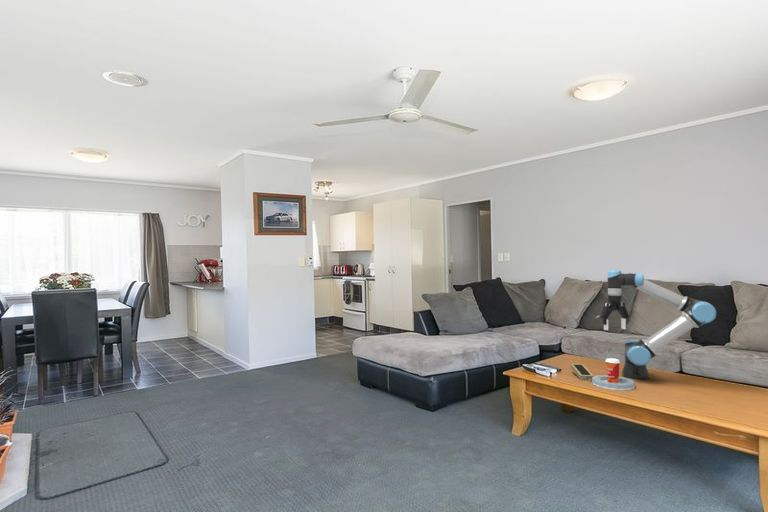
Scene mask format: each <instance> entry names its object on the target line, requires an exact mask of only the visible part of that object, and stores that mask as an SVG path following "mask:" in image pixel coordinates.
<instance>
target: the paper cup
mask: <svg viewBox="0 0 768 512" xmlns="http://www.w3.org/2000/svg"><path fill="white" fill-rule="evenodd" d="M620 363H621V361H620V360H619V359H617V358H614V357H613V358H611V357H610V358H606V359H605V366H606V367H605V368H606V375H607V382H610V383H618V381H619V377H620V376H619V375H620Z"/></svg>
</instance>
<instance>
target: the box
mask: <svg viewBox="0 0 768 512" xmlns="http://www.w3.org/2000/svg"><path fill="white" fill-rule="evenodd" d="M570 369H571V371H572V372H574V374H575V375H576V376H577V377H578V379H579V380H580V381H587V382H589V383H592V377H594V376H595V375H594V374H593V373H592V372H591V371H590V370H589V369H588V368H587V366H586V365H584V363H570Z"/></svg>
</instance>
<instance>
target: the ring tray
mask: <svg viewBox="0 0 768 512" xmlns="http://www.w3.org/2000/svg"><path fill="white" fill-rule="evenodd" d="M593 376H594V377H592V382H591V383H592V385H594V386H595V387H598V388H601V389H605V390H611V391H612V390H613V391H631V390H634V389H635V386H636V385H635V383H636V382H635V381H634V380H633V379H632V378H628V377H625V376H619V381H618V383H610V382H607V374H606V375H605V374H604V375H603V374H601V375H593Z"/></svg>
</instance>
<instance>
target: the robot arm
mask: <svg viewBox="0 0 768 512" xmlns="http://www.w3.org/2000/svg"><path fill="white" fill-rule="evenodd" d="M622 286H623V287H631V288H634V289H637V290H639V291H641V292H643V293H645V294H648V295H650V296H651V297H653V298H656V299H657V300H660V301H662V302H664V303H667V304H668V305H671V306H673V307H675V308H677V310H678V311H679V312H681V315H680V316H679V317H677V318H676V319H675V320H673V321H671V322H670V323H669V324H667V325H665V326H664V327H663V328H661V329H659V330H658V331H657V332H655V333H654V334H652V335H651V336H649V337H647V338H641V339H640V340H639V339H637V340H636V339H625V340H624V342H623V345H624V365H623V367H622V370H621V376H622V377H624V378H627V379H635V380H647V379H650V372H649V370H648V367H647V364H649V363H650V361H651V360H652V359H653V358H655V357H656V356H657V354H658V353H657V352H658V351H660V350H661V349H663V348H665V347H666V346H667V345H669V344H671V343H672V342H674V341H675V340H676V339H678V338H680V337H682V335H684V334H686V333H687V332H688V331H690V330H691V329H693V328H700V327H702V326H703V325H705V324H709V323H712V322H713V321H714V320H715V319H716V317H717V310H716V307H714V305H713V304H711V303H710V302H707V301H702V300H699V299H694V298H691V297H689V296H687V295H686V296H682V295H681V294H678V293H676V292H675V291H672V290H670V289H668V288H664V287H663V286H661V285H658V284H656V283H654V282H652V281H650V280H647V279H645V277H644V274H643V273H631V272H628V273H623V272H622V270H618V269H617V270H613V269H612V270H608V271H607V302H605V303H604V304H603V309H602V311H601V314H600V318H601V320H602V323H603V324H602V325H603V330H604V331H609V319H608V318H609V317H610V315H611V314H612V312H614V311H617V312H618V314H619V315H620V317H621V318H620V324H621V326H620V327H621V329H622V330H627V326H626V325H627V319H629V318H630V315H629V313H628V310H627V307H626V303H625V302H622V300H623V299H622Z"/></svg>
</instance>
